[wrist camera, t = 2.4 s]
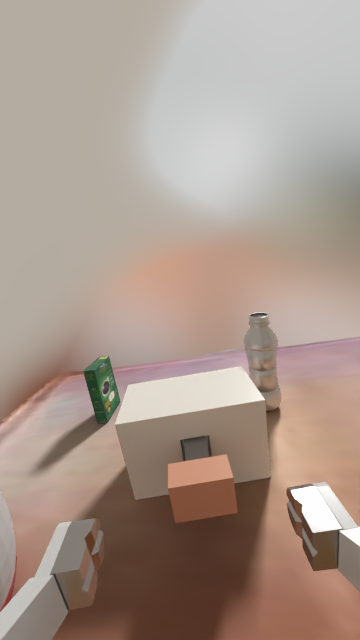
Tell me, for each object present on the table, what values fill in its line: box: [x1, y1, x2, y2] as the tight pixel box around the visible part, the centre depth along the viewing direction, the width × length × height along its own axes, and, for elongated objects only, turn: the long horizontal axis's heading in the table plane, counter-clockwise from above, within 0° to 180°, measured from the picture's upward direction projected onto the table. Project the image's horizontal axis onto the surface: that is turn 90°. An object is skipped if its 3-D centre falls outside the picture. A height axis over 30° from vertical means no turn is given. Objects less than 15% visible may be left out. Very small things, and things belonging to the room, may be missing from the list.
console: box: [115, 366, 271, 500], centre depth 36 cm, size 10×20×13 cm, turn 92°
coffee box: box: [83, 356, 120, 423], centre depth 54 cm, size 8×3×13 cm, turn 173°
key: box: [168, 436, 238, 523], centre depth 29 cm, size 10×7×5 cm
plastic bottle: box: [244, 312, 281, 411], centre depth 46 cm, size 6×7×20 cm
